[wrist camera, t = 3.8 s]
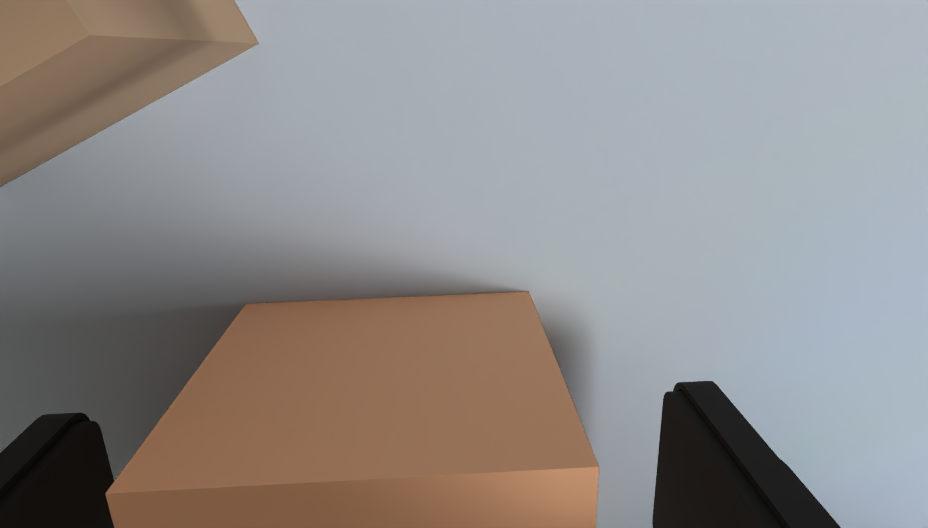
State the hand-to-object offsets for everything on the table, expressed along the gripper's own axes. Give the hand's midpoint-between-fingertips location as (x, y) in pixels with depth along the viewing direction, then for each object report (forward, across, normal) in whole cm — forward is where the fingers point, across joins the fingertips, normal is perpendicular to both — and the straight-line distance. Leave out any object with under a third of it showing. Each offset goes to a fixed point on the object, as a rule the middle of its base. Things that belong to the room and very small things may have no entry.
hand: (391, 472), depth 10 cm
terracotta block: (+2, 0, 0) cm, 2 cm away
